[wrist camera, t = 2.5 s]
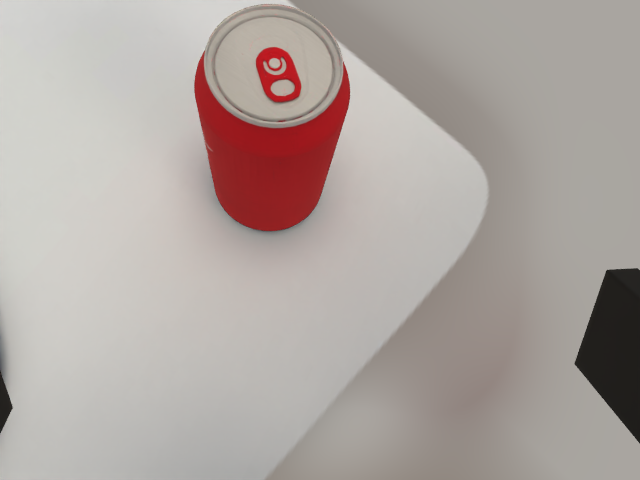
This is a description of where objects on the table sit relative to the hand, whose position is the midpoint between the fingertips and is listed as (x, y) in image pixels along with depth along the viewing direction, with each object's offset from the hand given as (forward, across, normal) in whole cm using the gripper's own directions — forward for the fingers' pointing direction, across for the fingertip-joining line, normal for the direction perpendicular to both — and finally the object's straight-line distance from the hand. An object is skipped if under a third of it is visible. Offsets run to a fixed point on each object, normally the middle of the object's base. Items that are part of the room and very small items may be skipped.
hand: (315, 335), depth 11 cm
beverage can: (+20, 0, -5) cm, 21 cm away
